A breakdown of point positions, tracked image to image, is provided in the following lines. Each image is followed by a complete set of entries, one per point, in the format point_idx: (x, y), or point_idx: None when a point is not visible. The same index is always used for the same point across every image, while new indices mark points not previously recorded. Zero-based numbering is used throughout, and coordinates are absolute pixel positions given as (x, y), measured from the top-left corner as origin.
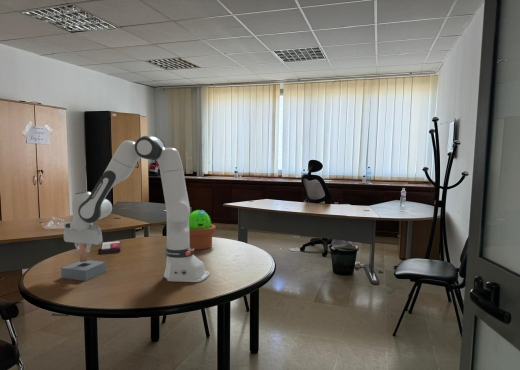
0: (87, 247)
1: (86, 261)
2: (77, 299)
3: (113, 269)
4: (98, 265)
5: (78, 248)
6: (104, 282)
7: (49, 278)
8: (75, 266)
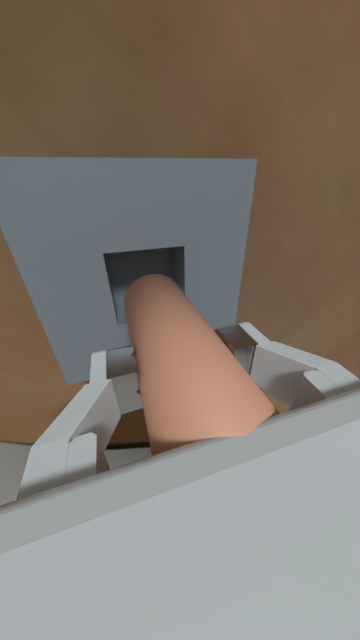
0: (280, 394)
1: (85, 209)
2: (272, 399)
3: (242, 96)
4: (243, 250)
5: (131, 409)
6: (286, 299)
7: (26, 373)
8: (126, 333)
